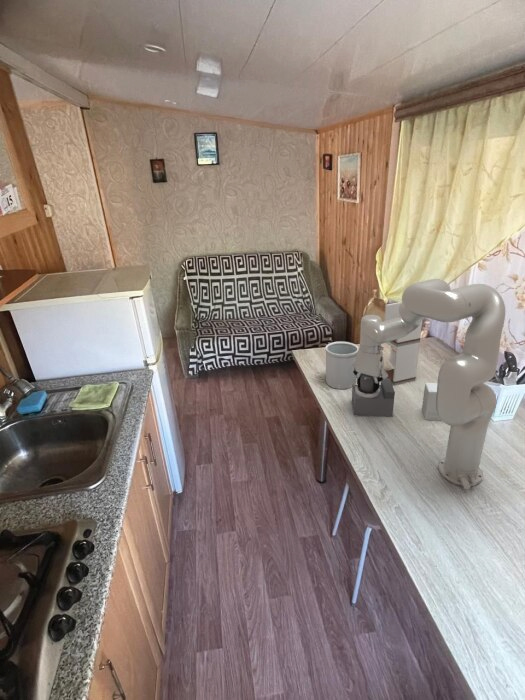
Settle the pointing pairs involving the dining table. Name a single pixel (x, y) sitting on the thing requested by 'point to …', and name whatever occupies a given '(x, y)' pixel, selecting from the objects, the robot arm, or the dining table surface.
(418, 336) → the slotted white tower
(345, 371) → the utensil holder
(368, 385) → the lens
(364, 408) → the camera body
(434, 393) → the supplement box
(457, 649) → the dining table surface
